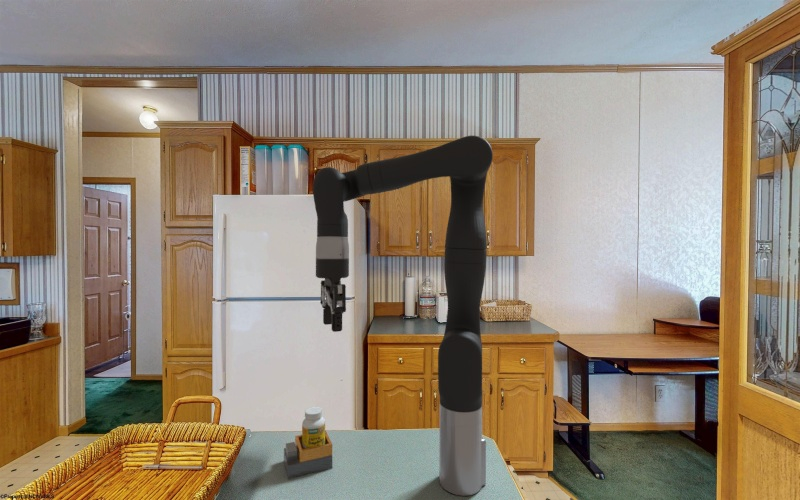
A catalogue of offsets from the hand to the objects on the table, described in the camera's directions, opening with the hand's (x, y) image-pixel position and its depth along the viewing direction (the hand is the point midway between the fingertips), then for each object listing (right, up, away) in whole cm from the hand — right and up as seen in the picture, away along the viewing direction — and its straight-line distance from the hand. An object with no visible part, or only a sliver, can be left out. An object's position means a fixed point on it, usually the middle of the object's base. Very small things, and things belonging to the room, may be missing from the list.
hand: (332, 327), depth 82 cm
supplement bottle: (-5, -30, +3) cm, 31 cm away
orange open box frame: (-6, -33, +3) cm, 34 cm away
